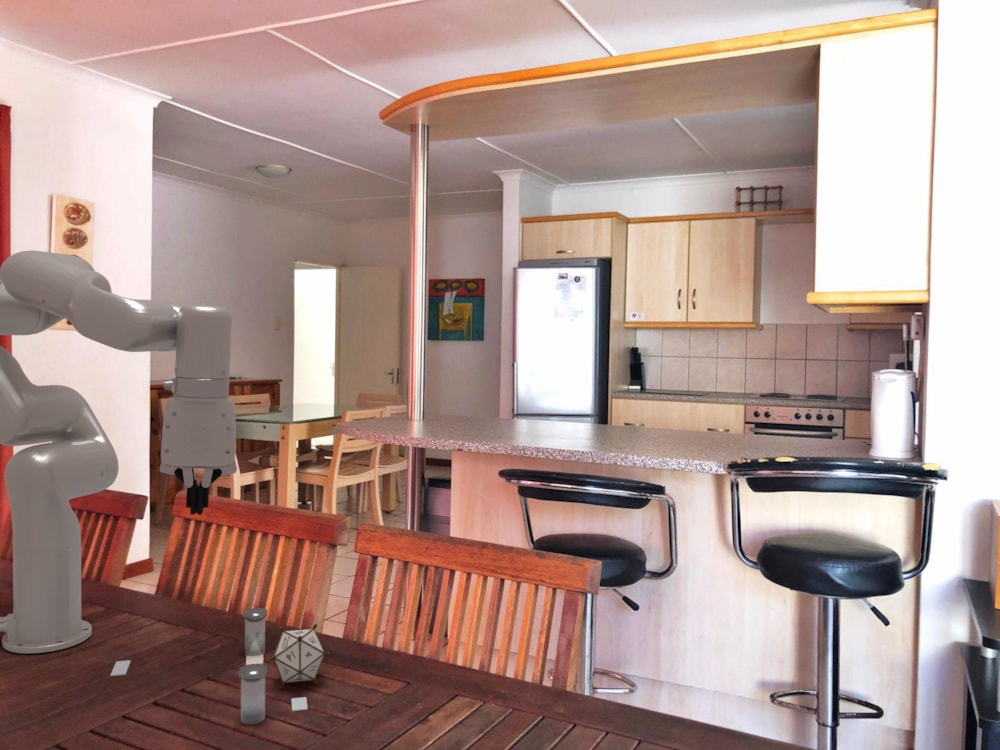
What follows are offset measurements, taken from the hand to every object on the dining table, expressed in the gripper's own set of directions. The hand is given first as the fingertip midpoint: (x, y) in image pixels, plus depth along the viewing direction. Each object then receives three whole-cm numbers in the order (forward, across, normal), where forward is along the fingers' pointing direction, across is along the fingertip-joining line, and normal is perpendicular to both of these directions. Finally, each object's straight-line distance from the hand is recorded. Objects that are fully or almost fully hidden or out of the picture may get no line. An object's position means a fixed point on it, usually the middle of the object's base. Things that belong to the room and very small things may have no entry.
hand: (197, 512), depth 120 cm
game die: (+23, +16, -9) cm, 29 cm away
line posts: (+23, +9, -8) cm, 26 cm away
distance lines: (+23, +3, -7) cm, 24 cm away
